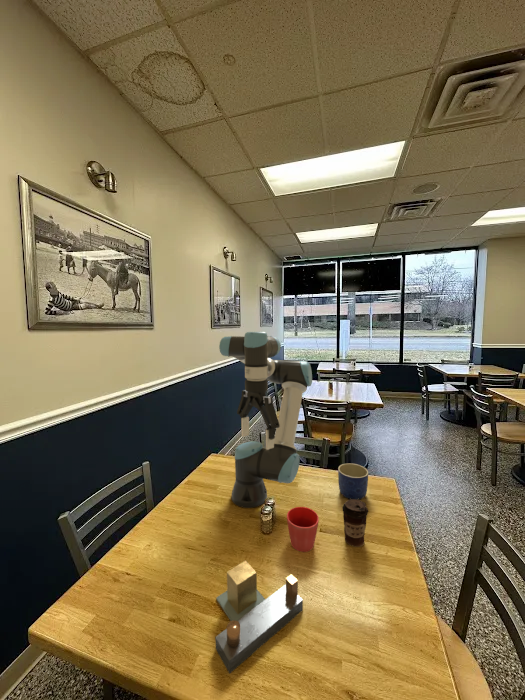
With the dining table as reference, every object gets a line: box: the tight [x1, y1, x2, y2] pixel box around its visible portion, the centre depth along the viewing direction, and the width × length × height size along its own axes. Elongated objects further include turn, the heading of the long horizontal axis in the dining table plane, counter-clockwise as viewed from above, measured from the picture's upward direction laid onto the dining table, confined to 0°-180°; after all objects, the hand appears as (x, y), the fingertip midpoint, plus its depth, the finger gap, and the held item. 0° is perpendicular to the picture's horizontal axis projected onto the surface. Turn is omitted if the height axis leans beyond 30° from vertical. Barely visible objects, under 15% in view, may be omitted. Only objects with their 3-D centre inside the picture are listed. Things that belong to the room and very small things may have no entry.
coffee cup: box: [342, 499, 369, 548], centre depth 98 cm, size 9×8×13 cm
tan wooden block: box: [226, 560, 258, 614], centre depth 77 cm, size 6×5×8 cm
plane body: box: [214, 574, 304, 675], centre depth 70 cm, size 22×6×7 cm, turn 128°
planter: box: [337, 463, 369, 500], centre depth 125 cm, size 12×12×11 cm
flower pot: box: [286, 506, 320, 553], centre depth 97 cm, size 11×11×10 cm
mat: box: [215, 589, 266, 622], centre depth 77 cm, size 10×10×1 cm
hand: (257, 441), depth 97 cm, fingers open, 13 cm apart
